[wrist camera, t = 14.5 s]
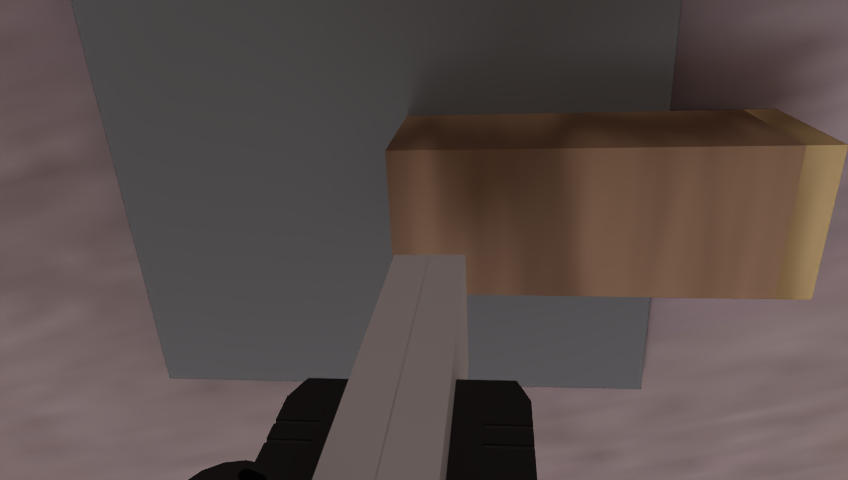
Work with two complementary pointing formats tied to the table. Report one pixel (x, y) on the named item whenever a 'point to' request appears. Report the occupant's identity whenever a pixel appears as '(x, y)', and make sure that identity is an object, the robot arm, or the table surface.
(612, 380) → the mat
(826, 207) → the post
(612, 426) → the table surface
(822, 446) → the table surface
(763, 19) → the table surface
